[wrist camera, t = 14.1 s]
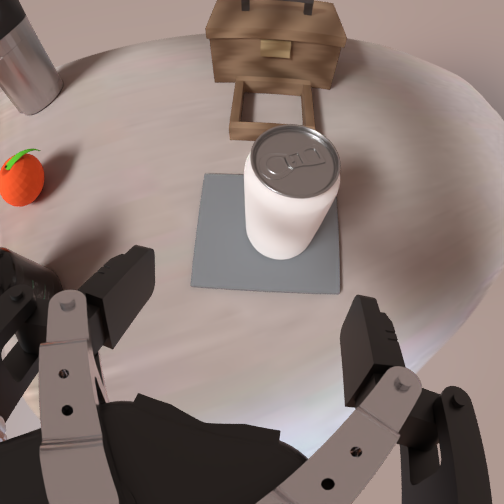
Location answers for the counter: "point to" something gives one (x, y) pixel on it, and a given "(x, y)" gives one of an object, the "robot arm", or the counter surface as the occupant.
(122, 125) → the counter surface
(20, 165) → the clementine
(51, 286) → the supplement bottle
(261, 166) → the can
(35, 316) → the robot arm
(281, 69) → the toolbox
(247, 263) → the mat
